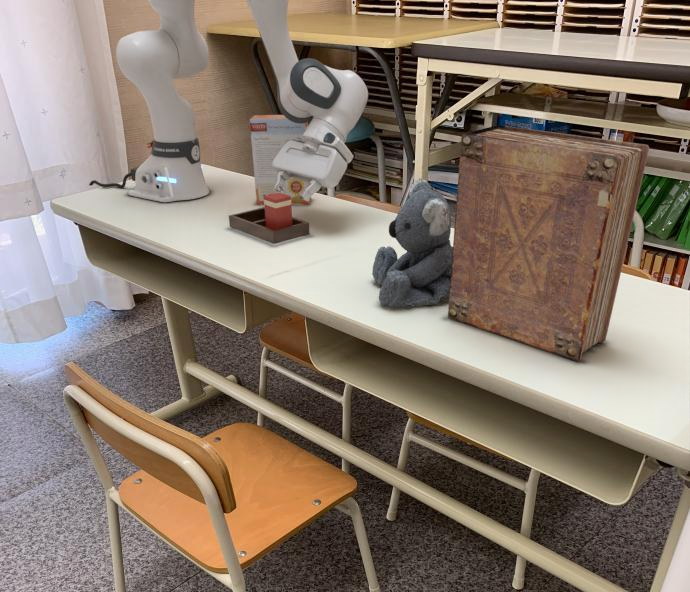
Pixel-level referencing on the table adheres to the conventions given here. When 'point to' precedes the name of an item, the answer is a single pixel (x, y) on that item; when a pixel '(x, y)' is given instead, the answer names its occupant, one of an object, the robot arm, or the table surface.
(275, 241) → the organiser
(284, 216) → the carton
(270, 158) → the cracker box
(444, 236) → the koala plush
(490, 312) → the book
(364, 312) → the table surface
